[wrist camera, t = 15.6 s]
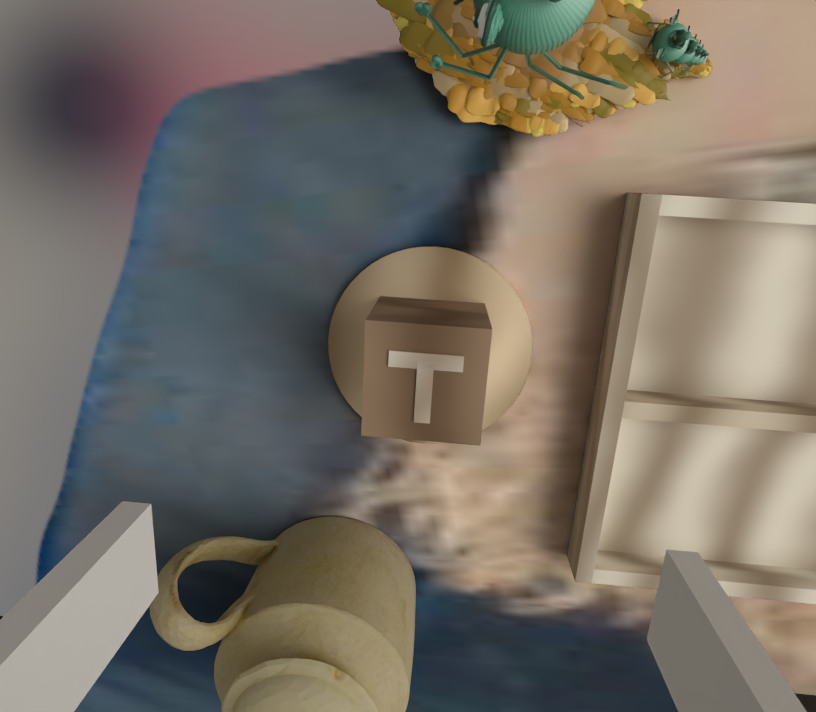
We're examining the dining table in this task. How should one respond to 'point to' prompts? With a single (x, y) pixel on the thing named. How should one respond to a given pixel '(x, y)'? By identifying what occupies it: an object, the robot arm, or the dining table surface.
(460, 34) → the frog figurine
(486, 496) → the dining table surface
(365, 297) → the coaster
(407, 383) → the letter cube
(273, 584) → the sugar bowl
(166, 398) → the dining table surface
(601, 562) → the tray
